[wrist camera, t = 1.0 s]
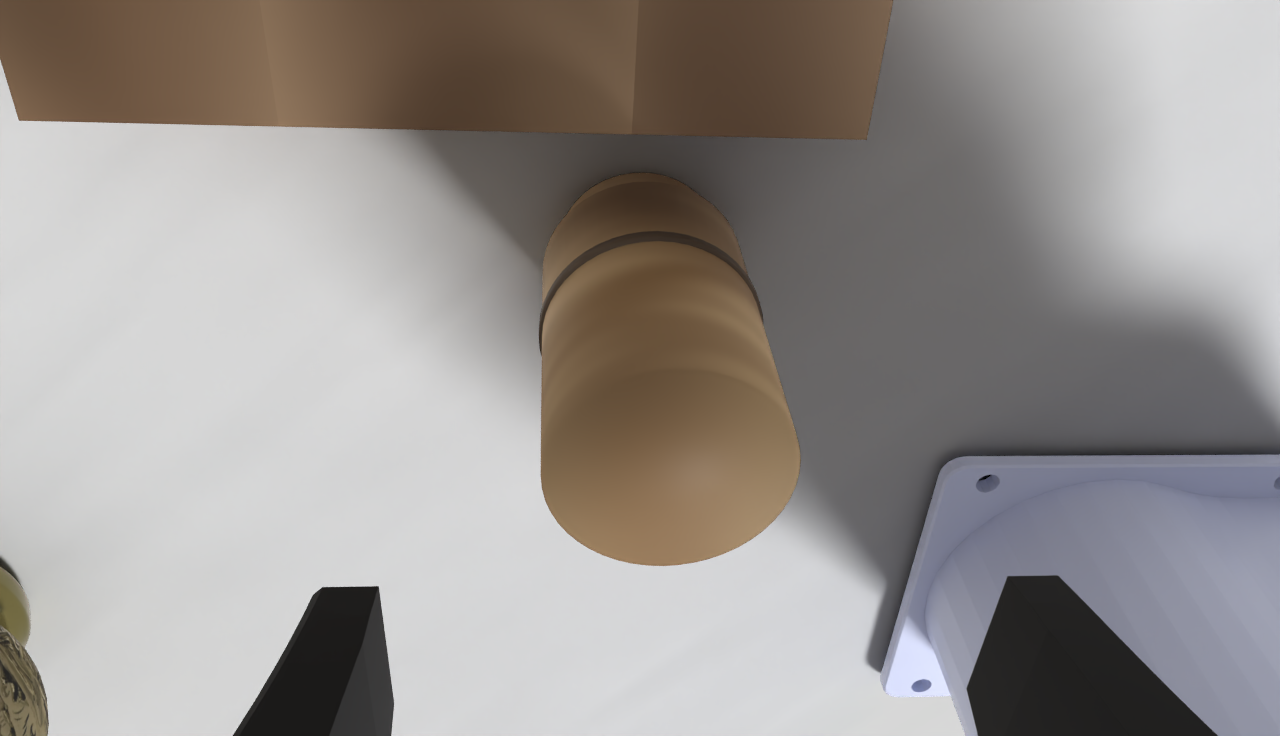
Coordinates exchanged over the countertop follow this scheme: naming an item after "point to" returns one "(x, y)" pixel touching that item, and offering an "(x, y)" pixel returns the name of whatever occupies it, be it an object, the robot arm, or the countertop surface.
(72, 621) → the countertop surface
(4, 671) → the cup
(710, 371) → the peg
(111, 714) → the countertop surface
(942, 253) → the countertop surface
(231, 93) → the board
